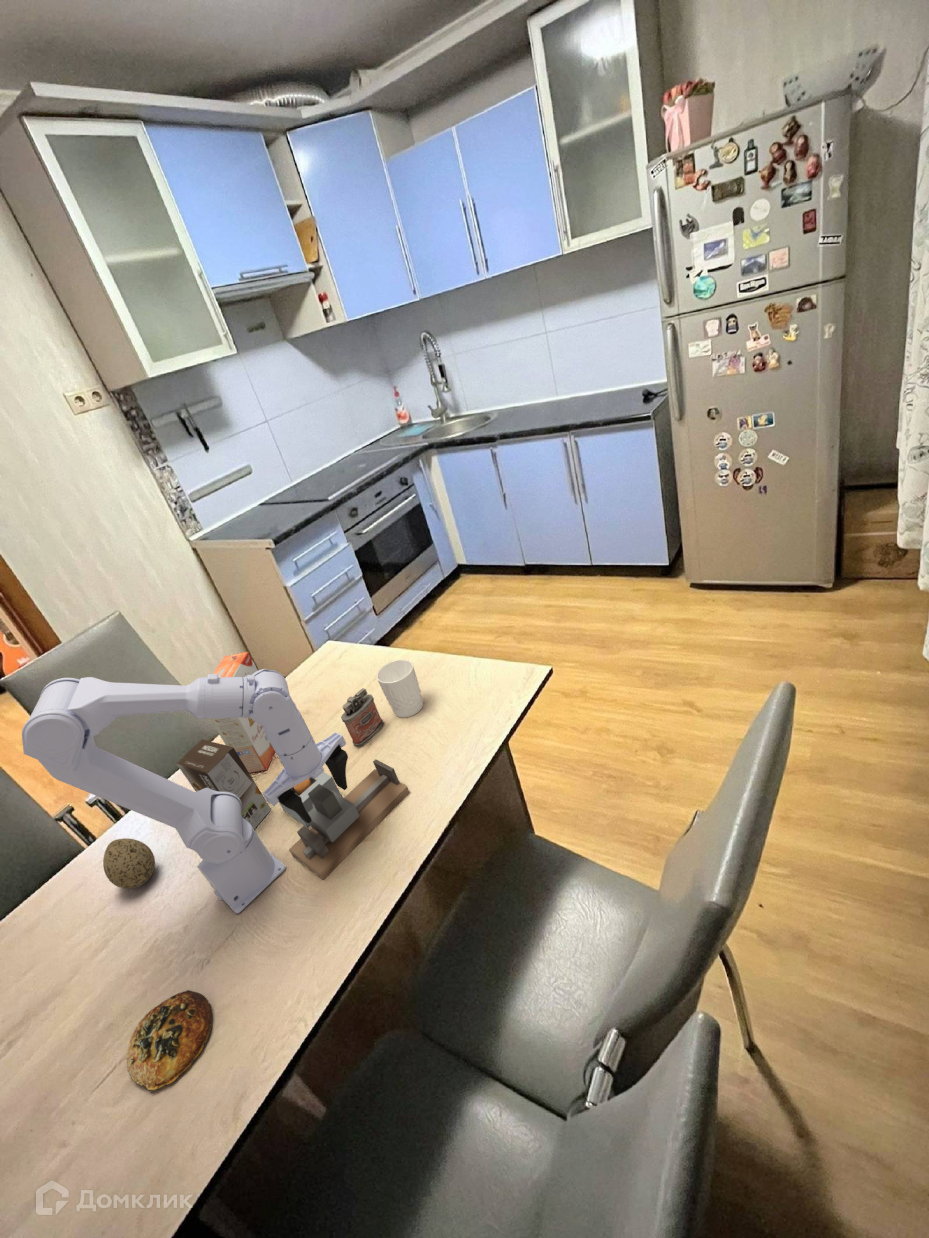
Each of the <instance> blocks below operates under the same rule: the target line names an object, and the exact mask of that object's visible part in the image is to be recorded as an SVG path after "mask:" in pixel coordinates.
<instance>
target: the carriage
mask: <svg viewBox="0 0 929 1238" xmlns="http://www.w3.org/2000/svg"><path fill="white" fill-rule="evenodd" d="M308 795H309V797H310V799H311V801H312V803H313V804H314V806H315V807H314V808H313V809H312V810H311V811H309V812H308V814H309V816H310V817H311V820H312V821H311V822H310V823H309V824H310V825H309V826H310V827H311V828H313V829H314V830H316V831H317V832H319V833H320V834H321V835H323V836H324V837H325V838H327V839H328V840H330V841H331V842H332V843H333V842H334V841H335V840H336V839H337V838H338V837H339V836H340V835H341V834H342V833H343V832H344V831H345V830H346V829H347V828H348V827H349V826H350V825H351V824H352V823H353V822H354V821H355V820H356V819H357V818H358V817H359V816H360V815H359V813H358V811H357V809H356V807H355V805H354V804H353V803H352V802H350V801H348V800H347V799H345V798H344V797H343V796H342V795H341V796H340V795H339V794H337V793H335V792H334V791H330V790H328V789H327V788H325V787H323V786H322V785H320V784H318V785H317V786H316V787H315V788H314V789H313V790H312V791H310V792H309V793H308Z"/></svg>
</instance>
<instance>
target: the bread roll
mask: <svg viewBox="0 0 929 1238" xmlns="http://www.w3.org/2000/svg"><path fill="white" fill-rule="evenodd" d="M212 1017H213V1013H212V1006H211V1004H210V1002H209V1000H208V998H207V997H206V996H205V995H203V994H202V993H199V992H196V991H193V990H190V989H189V990H185V991H184V990H183V991H181V992H178V993H177V994H174V995H172V996H171V997H169V998H167V999H165V1000H164V1001H162V1002H161V1003H160V1004H158V1005H157V1006H155V1007H153V1008H152V1009H150V1010H149V1011H148V1013H146V1014H145V1015H144V1017H143V1018H142V1019H141V1020H140V1021H139V1022H138V1024H137V1026H136V1027H135V1028H134V1030H133V1032H132V1034H131V1036H130V1039H129V1043H128V1046H127V1050H126V1051H127V1052H126V1056H125V1060H126V1062H125V1063H126V1069H127V1073H128V1075H129V1076H131V1079H132V1080H133V1082H136V1084H137V1085H139V1086H143V1087H145V1088H146V1089H147V1090H149V1091H150V1090H151V1091H155V1090H158V1089H160V1088H163V1087H165V1086H166V1085H170V1084H172V1083H174V1082H175V1081H176V1080H177V1079H178V1078H179V1077H180V1076H181V1075H182V1074H183V1073H185V1071H186V1070H188V1069H189V1068H190V1067H191V1066H192V1065H193V1064H194V1062H195V1061H196V1059H197V1058H198V1057H199V1055H200V1054H201V1052H202V1051H203V1050H204V1049H205V1047H206V1044H207V1042H208V1040H209V1036H210V1033H211V1032H212V1028H213V1027H212V1024H213V1023H212V1021H213V1020H212V1019H213V1018H212Z"/></svg>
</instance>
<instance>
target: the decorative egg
mask: <svg viewBox="0 0 929 1238" xmlns="http://www.w3.org/2000/svg"><path fill="white" fill-rule="evenodd" d="M102 862H103V871H104V873H105V874H104V875H105V876H106V878H107V879H108V881H109V882H110V883H111V884H112V885H114V886H116V887H118V888H121V889H126V890H128V889H131V890H132V889H135V888H138V887H141V886H142V885H144V884H145V883H146V882H148V880H150V878H151V877H152V874H153V873H154V871H155V867H156V859H155V855H154V852H153V851H152V849H151V848H150V847H149V845H147V844H146V843H144V842H142V841H141V840H137V839H134V838H117V839H114V840H112V841H111V842H109V843H108V845H107V847H106V848H105V851H104V854H103V860H102Z"/></svg>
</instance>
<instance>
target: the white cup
mask: <svg viewBox="0 0 929 1238" xmlns="http://www.w3.org/2000/svg"><path fill="white" fill-rule="evenodd" d="M415 671H416V670H415V667H414V663H412V662H411V661H410V660H409V659H408V660H407V659H396V660H393V661H390V662H388V663H386V664H384V665H382V666H381V667H380V668H379V669H378V671H377V672H376V679H377V682H378V684H379V686H380V688H381V690H382V692H383V695H384V696H385V699H386V701H387V702H388V705H389V706H390V707H391V709H392V712H393V714H394V716H396V717H398V718H409V717H413V716H414V715H416V714H418V713H419V712H420V711H421V710H422V708H423V706H424V700H423V697H422V694H421V688H420V685H419V680H418V677H417V674H416V672H415Z"/></svg>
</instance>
